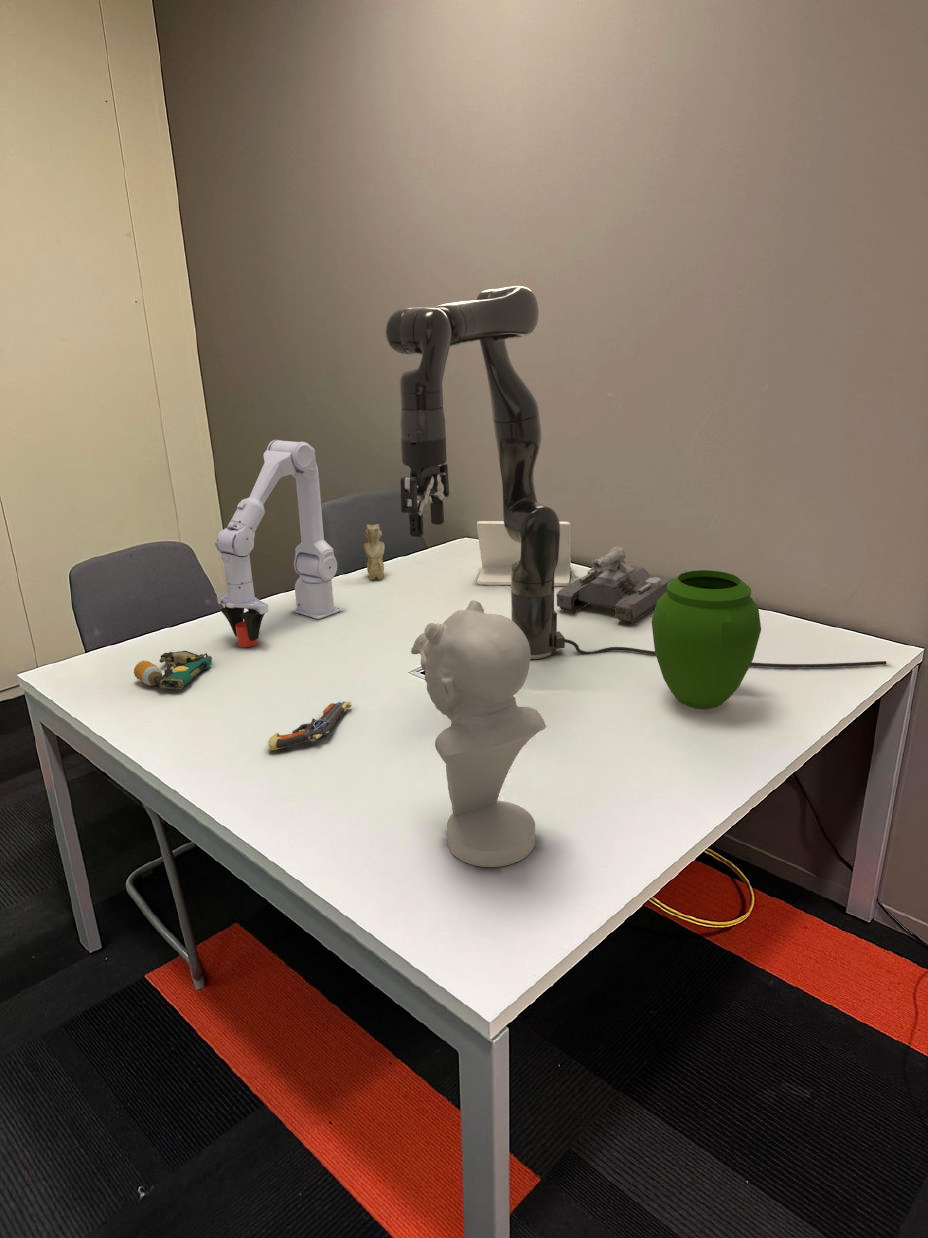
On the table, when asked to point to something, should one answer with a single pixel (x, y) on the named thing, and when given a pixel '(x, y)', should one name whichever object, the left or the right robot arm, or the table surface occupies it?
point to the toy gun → (311, 727)
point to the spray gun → (172, 669)
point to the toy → (614, 588)
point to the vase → (705, 636)
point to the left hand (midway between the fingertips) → (246, 637)
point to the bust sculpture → (481, 729)
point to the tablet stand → (514, 554)
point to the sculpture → (374, 551)
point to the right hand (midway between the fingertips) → (427, 529)
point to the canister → (243, 635)
